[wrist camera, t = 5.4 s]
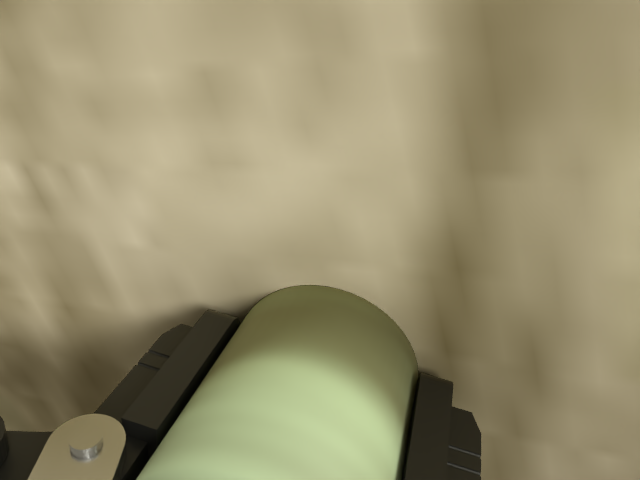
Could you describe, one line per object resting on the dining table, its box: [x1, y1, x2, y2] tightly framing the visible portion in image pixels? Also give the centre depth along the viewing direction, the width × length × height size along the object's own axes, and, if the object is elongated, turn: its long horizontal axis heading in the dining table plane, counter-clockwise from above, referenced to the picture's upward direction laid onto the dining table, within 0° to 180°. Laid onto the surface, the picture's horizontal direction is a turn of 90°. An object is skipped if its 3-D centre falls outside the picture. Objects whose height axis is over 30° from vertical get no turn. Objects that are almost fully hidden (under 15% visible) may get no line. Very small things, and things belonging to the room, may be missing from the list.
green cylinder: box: [136, 285, 418, 480], centre depth 11 cm, size 4×4×5 cm
